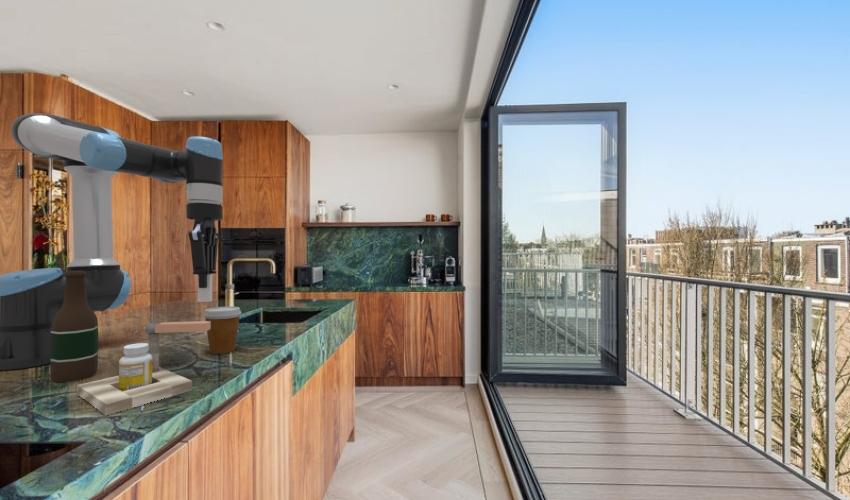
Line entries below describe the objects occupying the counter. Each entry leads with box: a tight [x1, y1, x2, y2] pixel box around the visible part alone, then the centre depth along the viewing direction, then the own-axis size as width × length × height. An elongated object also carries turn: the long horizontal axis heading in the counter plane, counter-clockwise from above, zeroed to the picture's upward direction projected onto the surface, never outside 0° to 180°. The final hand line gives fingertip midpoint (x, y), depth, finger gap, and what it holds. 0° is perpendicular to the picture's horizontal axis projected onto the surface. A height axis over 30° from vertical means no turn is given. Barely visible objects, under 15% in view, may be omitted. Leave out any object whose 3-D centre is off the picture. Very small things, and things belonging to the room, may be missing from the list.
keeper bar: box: [145, 320, 211, 334], centre depth 83 cm, size 12×3×2 cm, turn 102°
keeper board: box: [76, 333, 193, 417], centre depth 75 cm, size 16×14×10 cm
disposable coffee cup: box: [203, 306, 242, 355], centre depth 105 cm, size 10×10×12 cm
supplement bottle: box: [118, 342, 152, 392], centre depth 75 cm, size 5×5×10 cm
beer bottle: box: [50, 270, 99, 383], centre depth 83 cm, size 8×8×24 cm
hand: (204, 301), depth 89 cm, fingers closed
